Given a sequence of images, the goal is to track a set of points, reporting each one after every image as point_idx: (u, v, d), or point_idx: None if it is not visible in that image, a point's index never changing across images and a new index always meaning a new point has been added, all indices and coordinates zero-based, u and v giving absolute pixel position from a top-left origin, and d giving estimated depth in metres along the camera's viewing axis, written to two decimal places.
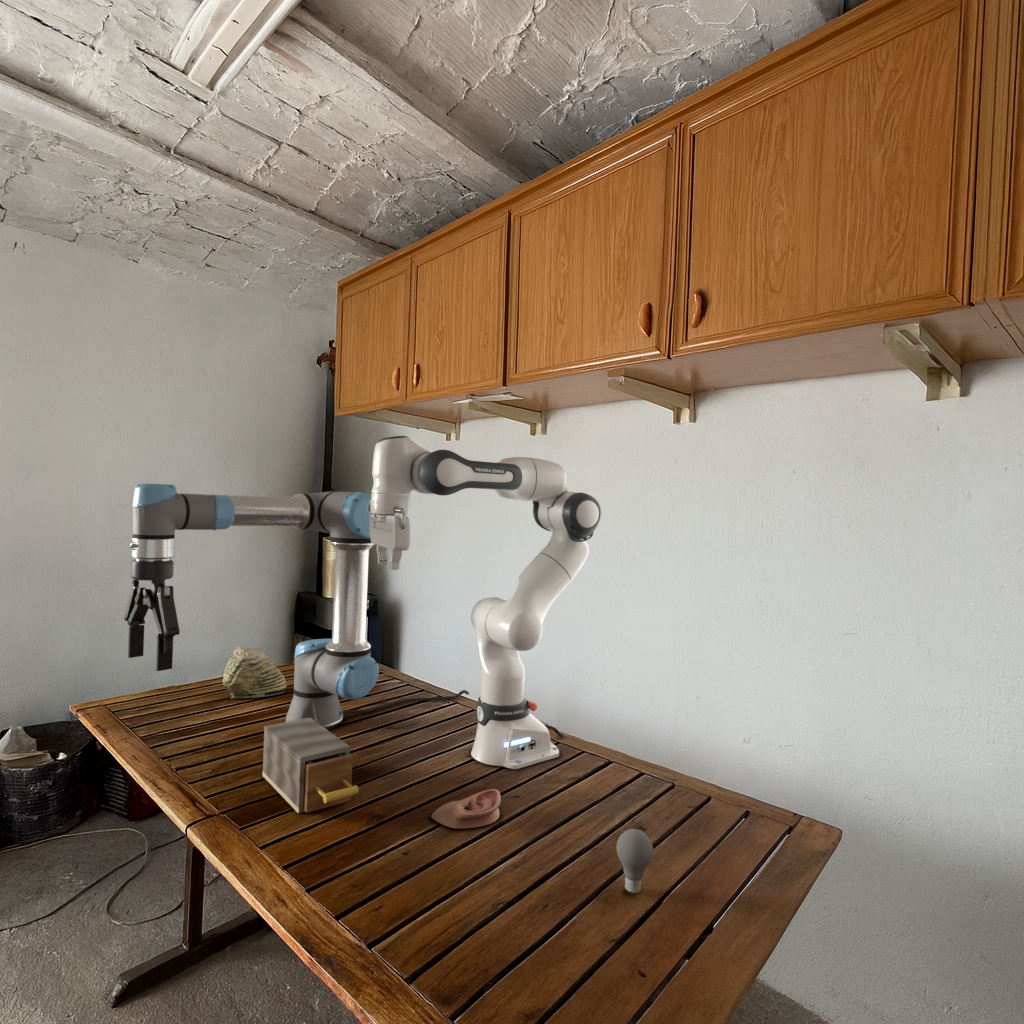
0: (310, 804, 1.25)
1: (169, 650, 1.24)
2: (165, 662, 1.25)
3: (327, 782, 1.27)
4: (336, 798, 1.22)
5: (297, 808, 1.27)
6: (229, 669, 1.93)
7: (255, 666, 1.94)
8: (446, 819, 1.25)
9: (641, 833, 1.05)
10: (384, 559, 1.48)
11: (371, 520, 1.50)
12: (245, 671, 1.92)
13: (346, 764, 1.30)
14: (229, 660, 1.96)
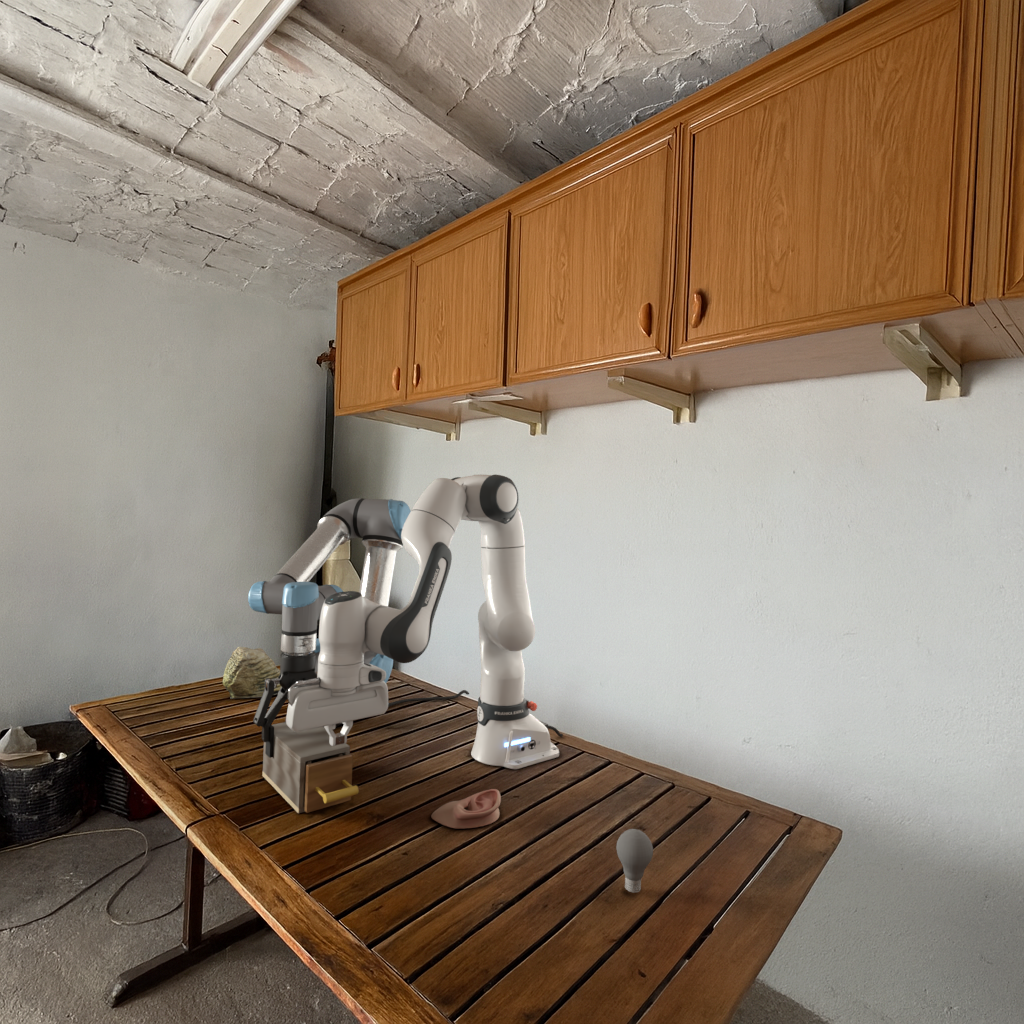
0: (310, 804, 1.25)
1: None
2: None
3: (327, 782, 1.27)
4: (336, 798, 1.22)
5: (297, 808, 1.27)
6: (229, 669, 1.93)
7: (255, 666, 1.94)
8: (446, 819, 1.25)
9: (641, 833, 1.05)
10: None
11: None
12: (245, 671, 1.92)
13: (346, 764, 1.30)
14: (229, 660, 1.96)
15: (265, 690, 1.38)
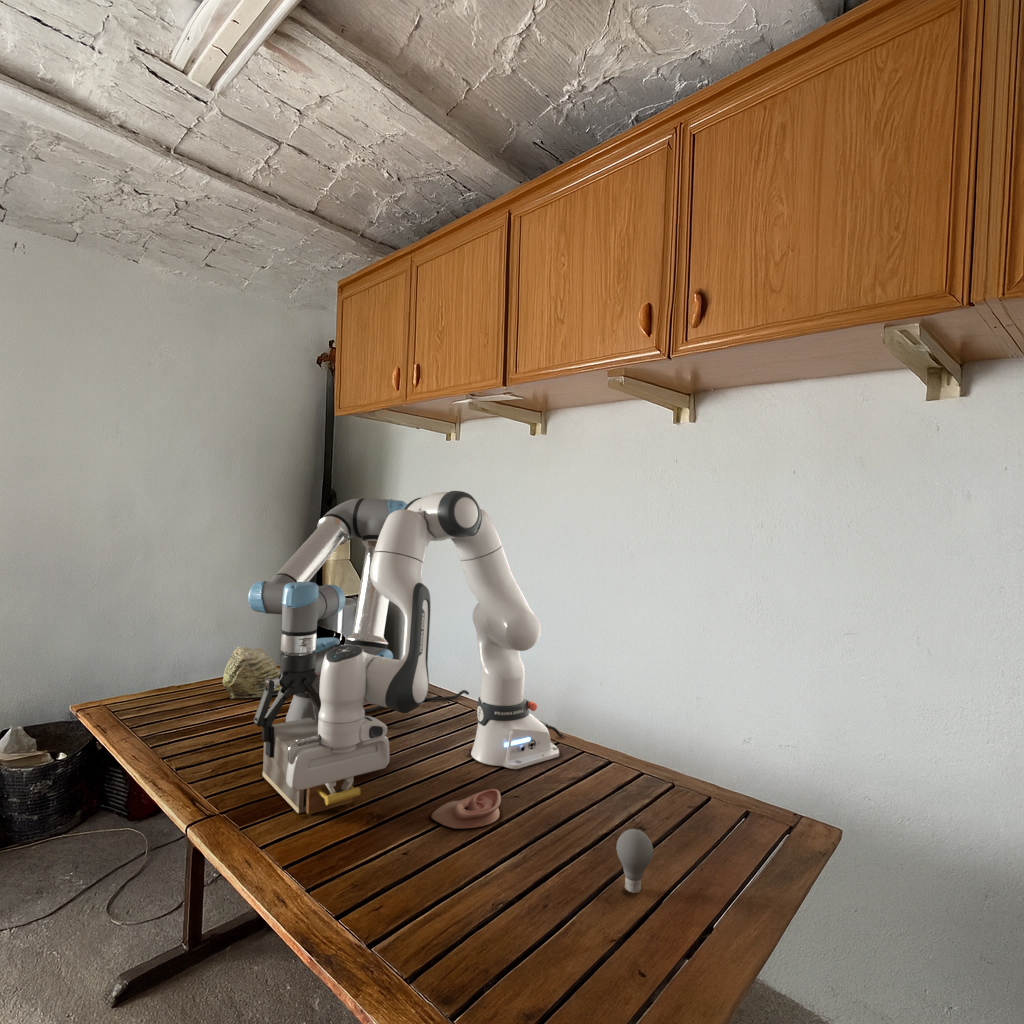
0: (312, 806, 1.25)
1: None
2: None
3: None
4: (337, 800, 1.22)
5: (297, 808, 1.27)
6: (229, 669, 1.93)
7: (255, 666, 1.94)
8: (446, 819, 1.25)
9: (641, 833, 1.05)
10: None
11: None
12: (245, 671, 1.92)
13: None
14: (229, 660, 1.96)
15: (265, 690, 1.38)
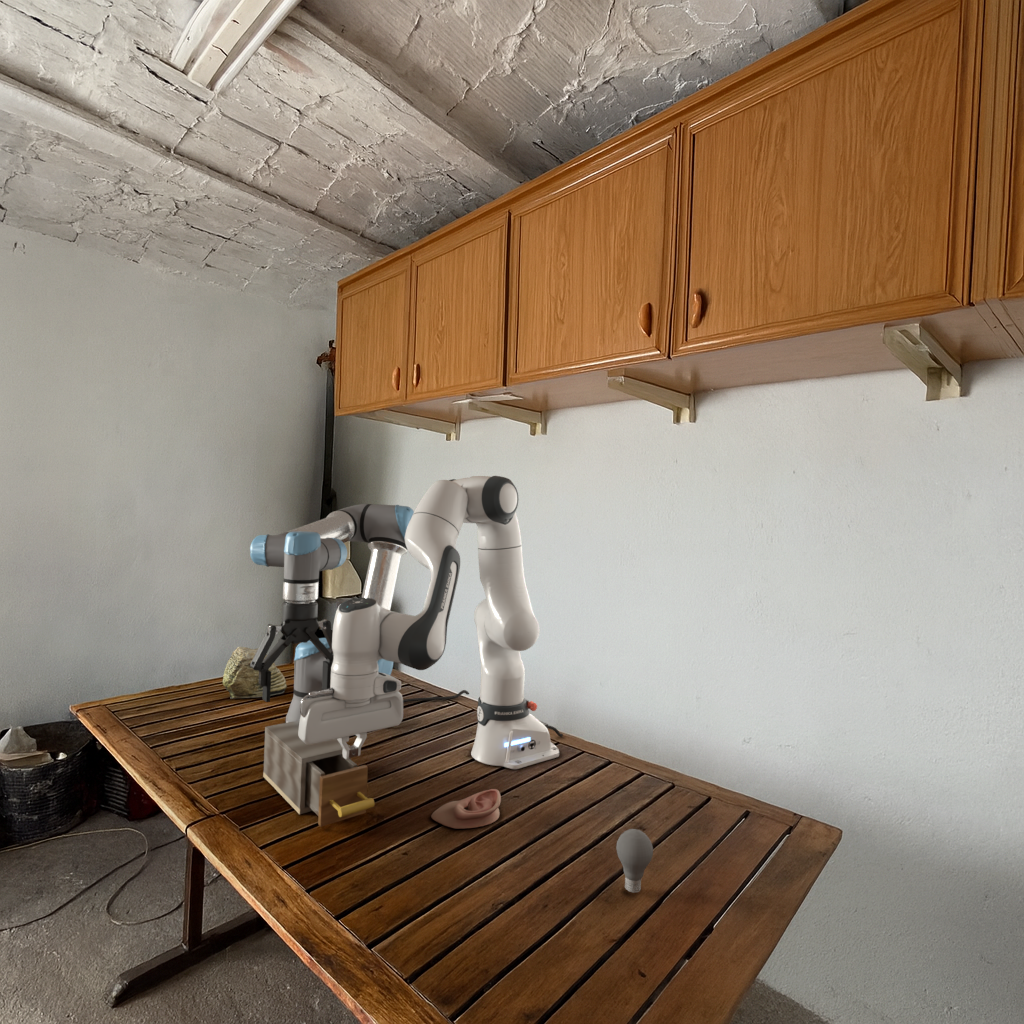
0: (324, 818, 1.20)
1: None
2: None
3: (341, 794, 1.22)
4: (351, 812, 1.18)
5: (298, 809, 1.26)
6: (229, 669, 1.93)
7: None
8: (446, 819, 1.25)
9: (641, 833, 1.05)
10: None
11: None
12: (245, 671, 1.92)
13: (361, 775, 1.25)
14: (229, 660, 1.96)
15: (266, 635, 1.37)
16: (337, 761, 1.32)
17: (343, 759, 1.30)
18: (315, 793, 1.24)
